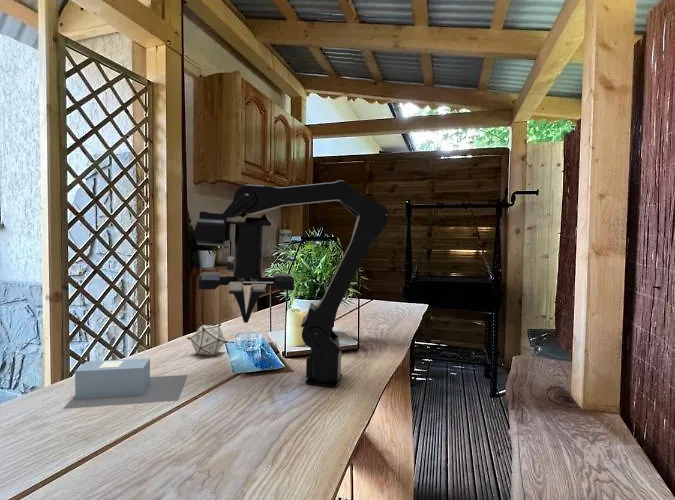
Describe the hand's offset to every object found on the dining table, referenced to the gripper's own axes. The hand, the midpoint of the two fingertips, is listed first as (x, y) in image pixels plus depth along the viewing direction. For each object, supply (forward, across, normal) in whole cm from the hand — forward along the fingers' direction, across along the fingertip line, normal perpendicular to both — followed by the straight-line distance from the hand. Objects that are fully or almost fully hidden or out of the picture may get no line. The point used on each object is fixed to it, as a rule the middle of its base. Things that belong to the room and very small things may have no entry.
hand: (245, 322), depth 80 cm
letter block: (+9, +18, +3) cm, 20 cm away
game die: (+12, +8, -16) cm, 22 cm away
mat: (+12, +20, +3) cm, 24 cm away
